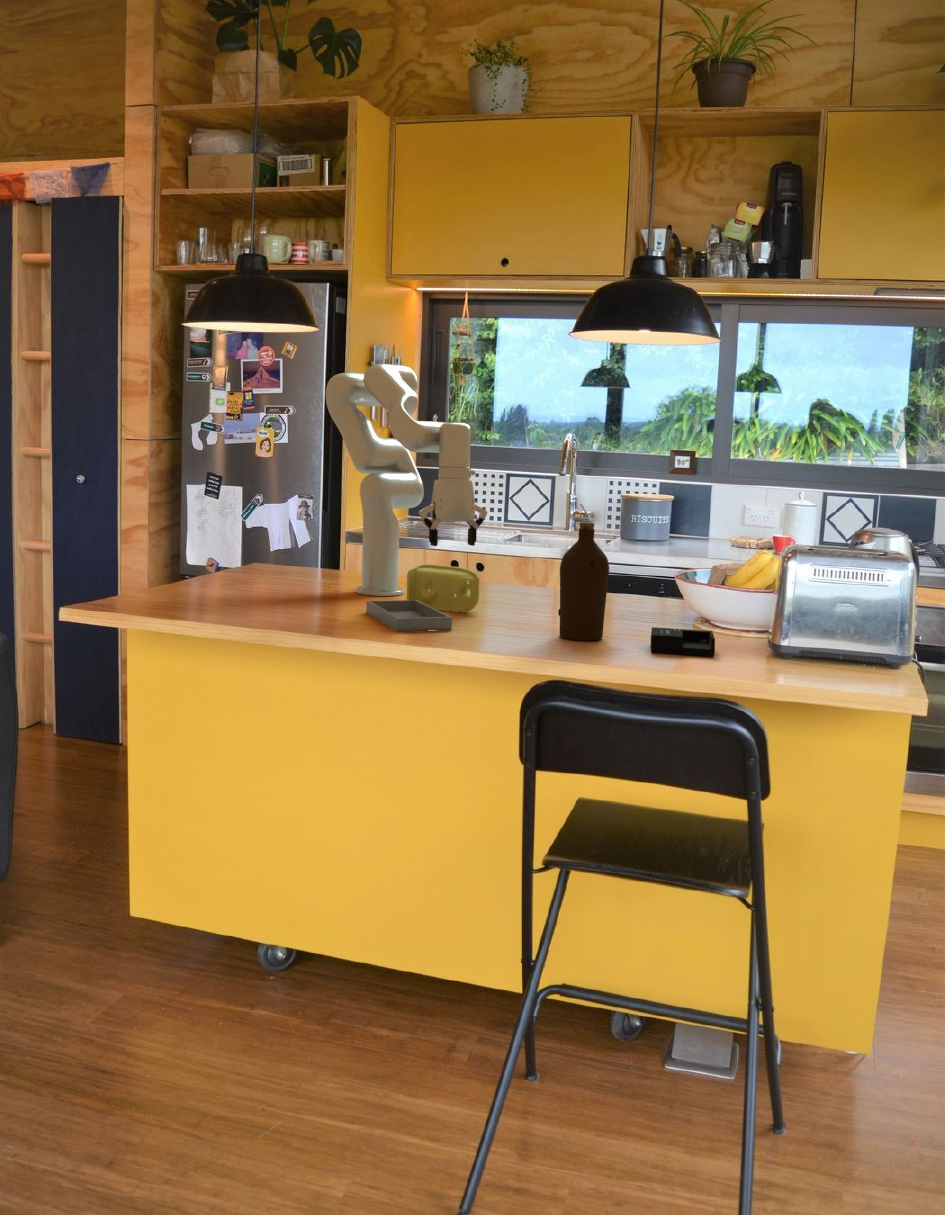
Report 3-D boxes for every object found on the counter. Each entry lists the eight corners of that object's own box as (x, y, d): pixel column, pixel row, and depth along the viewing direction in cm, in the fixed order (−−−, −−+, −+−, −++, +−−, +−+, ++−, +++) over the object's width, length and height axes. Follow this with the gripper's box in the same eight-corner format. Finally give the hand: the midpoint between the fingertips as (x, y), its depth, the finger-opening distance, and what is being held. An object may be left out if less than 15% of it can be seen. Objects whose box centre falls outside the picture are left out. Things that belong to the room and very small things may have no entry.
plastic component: (406, 606, 280) (407, 566, 278) (421, 602, 286) (422, 563, 285) (477, 615, 271) (479, 573, 270) (491, 611, 278) (493, 570, 276)
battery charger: (650, 653, 234) (651, 634, 234) (650, 645, 244) (651, 627, 243) (714, 658, 232) (715, 638, 232) (711, 649, 242) (712, 630, 241)
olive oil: (615, 638, 248) (622, 524, 244) (583, 643, 241) (589, 525, 237) (578, 630, 255) (584, 519, 251) (546, 635, 248) (552, 521, 244)
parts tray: (366, 613, 267) (366, 600, 267) (416, 612, 272) (416, 599, 271) (397, 632, 245) (397, 618, 244) (451, 630, 249) (451, 617, 249)
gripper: (481, 474, 280) (480, 543, 283) (415, 473, 274) (414, 544, 276) (493, 475, 273) (491, 546, 276) (425, 474, 267) (424, 547, 269)
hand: (452, 545), depth 276 cm, fingers open, 9 cm apart
